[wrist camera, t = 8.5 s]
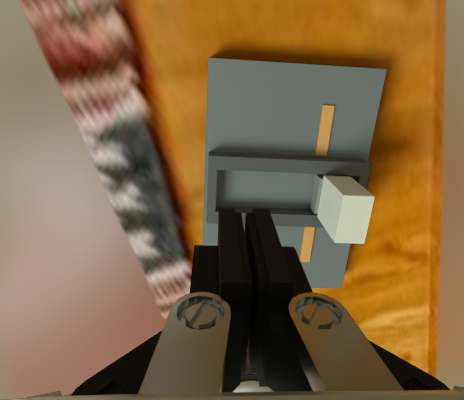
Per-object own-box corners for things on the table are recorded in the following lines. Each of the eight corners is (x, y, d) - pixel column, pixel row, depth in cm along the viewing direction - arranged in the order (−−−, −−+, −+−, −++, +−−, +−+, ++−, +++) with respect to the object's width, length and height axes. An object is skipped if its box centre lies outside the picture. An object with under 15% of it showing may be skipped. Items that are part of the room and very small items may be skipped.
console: (209, 58, 30) (208, 57, 27) (376, 69, 31) (395, 69, 28) (202, 274, 38) (200, 293, 35) (335, 277, 39) (346, 296, 35)
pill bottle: (218, 338, 41) (219, 414, 32) (263, 330, 41) (276, 405, 32) (226, 371, 43) (229, 452, 34) (269, 364, 43) (283, 443, 34)
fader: (315, 170, 32) (339, 195, 26) (347, 171, 32) (378, 196, 26) (309, 210, 33) (330, 242, 27) (339, 211, 33) (368, 243, 27)
